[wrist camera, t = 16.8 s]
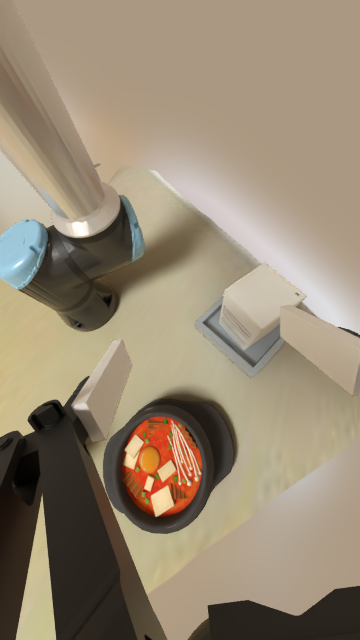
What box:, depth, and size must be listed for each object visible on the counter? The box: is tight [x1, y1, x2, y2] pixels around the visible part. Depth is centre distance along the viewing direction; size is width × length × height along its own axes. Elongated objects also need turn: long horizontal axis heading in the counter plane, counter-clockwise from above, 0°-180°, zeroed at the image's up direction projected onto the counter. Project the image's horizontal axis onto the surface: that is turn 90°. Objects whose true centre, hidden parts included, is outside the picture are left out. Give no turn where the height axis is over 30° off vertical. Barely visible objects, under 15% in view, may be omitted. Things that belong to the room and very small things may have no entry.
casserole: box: [103, 399, 234, 534], centre depth 31 cm, size 25×19×8 cm
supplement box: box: [219, 263, 306, 351], centre depth 34 cm, size 9×9×15 cm
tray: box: [195, 295, 286, 378], centre depth 41 cm, size 16×16×4 cm
